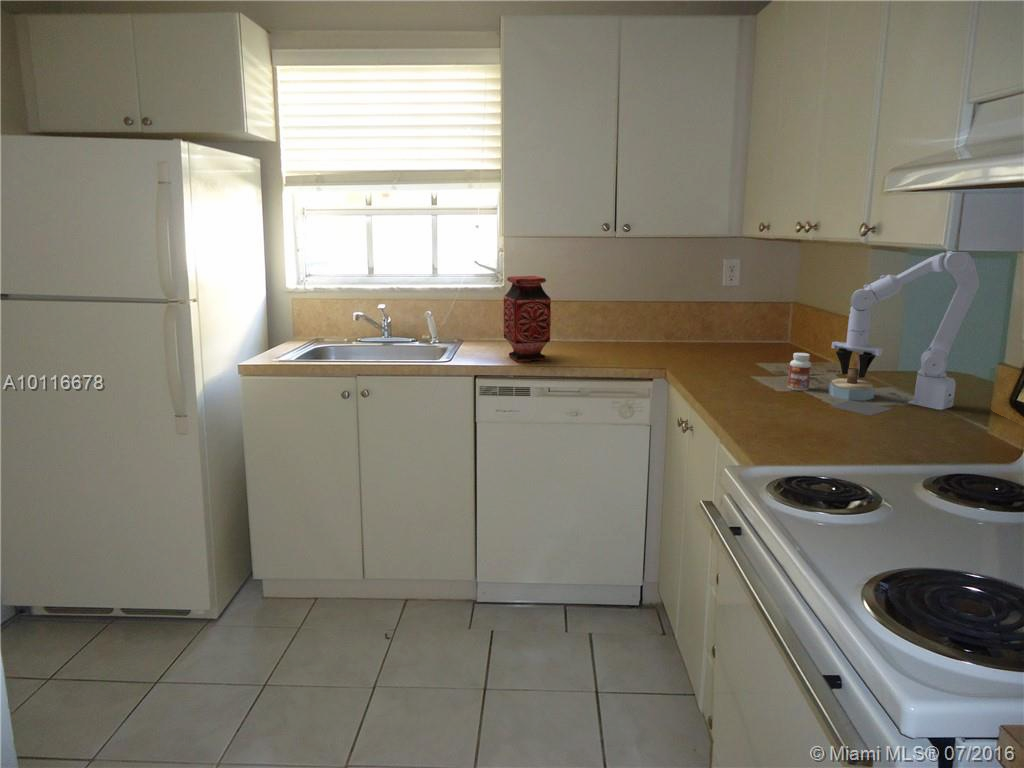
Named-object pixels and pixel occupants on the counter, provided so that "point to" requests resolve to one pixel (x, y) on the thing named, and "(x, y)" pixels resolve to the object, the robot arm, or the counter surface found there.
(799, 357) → the pill bottle
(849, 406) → the mat
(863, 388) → the lid
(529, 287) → the vase
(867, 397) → the bowl
